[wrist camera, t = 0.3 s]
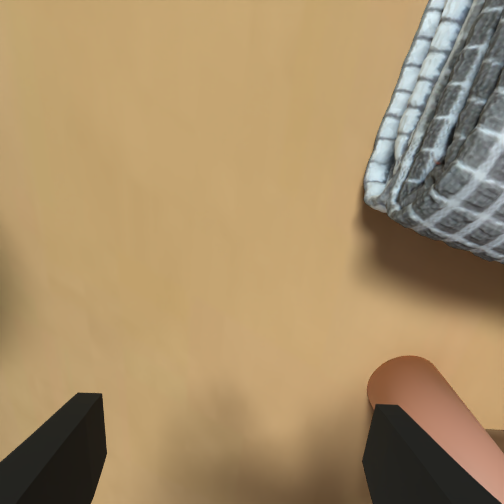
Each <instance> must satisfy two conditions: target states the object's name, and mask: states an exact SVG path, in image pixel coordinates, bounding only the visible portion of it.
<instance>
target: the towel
mask: <svg viewBox="0 0 504 504" xmlns="http://www.w3.org/2000/svg"><path fill="white" fill-rule="evenodd" d="M364 190H365V195H364V202H365V203H366V204H367V205H368V206H370V207H371V208H373V209H375V210H379V211H381V212H383V213H388V216H389V217H390V218H391V219H392V220H394V221H396V222H397V223H399V224H401V225H402V226H404V227H406V228H411V229H413V230H414V231H415V232H417V233H418V234H420V235H422V236H426V237H428V238H430V239H433V240H441V241H443V242H445V243H446V244H447V245H448V246H450V247H453V248H456V249H462V250H466V251H470V252H472V253H473V254H474V255H475V256H478V257H480V258H482V259H484V260H487V261H489V262H491V261H497V262H500V263H502V264H504V0H429V1H428V4H427V6H426V8H425V11H424V13H423V16H422V19H421V22H420V25H419V28H418V30H417V32H416V34H415V36H414V40H413V42H412V45H411V48H410V50H409V52H408V54H407V56H406V58H405V60H404V63H403V66H402V69H401V73H400V76H399V79H398V82H397V84H396V87H395V89H394V92H393V95H392V97H391V100H390V104H389V106H388V108H387V110H386V113H385V115H384V117H383V120H382V122H381V125H380V127H379V130H378V133H377V137H376V140H375V147H374V150H373V153H372V155H371V157H370V159H369V161H368V165H367V169H366V172H365V176H364Z"/></svg>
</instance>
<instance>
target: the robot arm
mask: <svg viewBox="0 0 504 504" xmlns="http://www.w3.org/2000/svg"><path fill="white" fill-rule="evenodd" d="M106 455H107V449H106V436H105V423H104V411H103V398H102V393H77V394H76V395H75V396H73V397H72V398H71V399H70V400H69V401H68V402H67V403H66V404H65V405H63V406H62V407H61V408H60V409H59V410H58V411H57V412H56V413H55V414H54V415H53V416H51V417H50V418H49V419H48V420H47V421H46V422H45V423H44V424H43V425H42V426H41V427H39V428H38V429H37V430H36V431H35V432H34V433H33V434H32V435H31V436H30V437H28V438H27V439H26V440H25V441H24V442H23V443H22V444H20V445H19V446H18V447H17V448H16V449H15V450H14V451H12V452H11V453H10V454H9V455H8V456H7V457H6V458H4V459H3V460H2V461H1V462H0V504H91V502H92V500H93V497H94V494H95V491H96V488H97V485H98V481H99V478H100V475H101V472H102V468H103V465H104V462H105V458H106ZM362 462H363V466H364V471H365V475H366V479H367V483H368V487H369V491H370V495H371V499H372V503H373V504H502V503H501V502H500V501H499V500H497V499H496V498H495V497H494V496H493V495H492V494H491V493H490V492H488V491H487V490H486V489H485V488H484V487H483V486H482V485H481V484H480V483H479V482H477V481H476V480H475V479H474V478H473V477H472V476H471V475H470V474H469V473H468V472H467V471H466V470H465V469H464V468H463V467H461V466H460V465H459V464H458V463H457V462H456V461H455V460H454V459H453V458H452V457H451V456H450V455H449V454H448V453H447V452H446V451H445V450H444V449H443V448H442V447H441V446H440V445H439V444H438V443H437V442H436V441H435V440H434V439H433V438H432V437H431V436H430V435H429V434H428V433H427V432H426V431H425V430H424V429H423V428H421V427H420V426H419V425H418V424H417V423H416V422H415V421H414V420H413V419H412V418H411V417H410V416H409V415H408V414H407V413H406V412H405V411H404V410H403V409H402V408H401V407H400V406H399V405H392V404H376V405H375V409H374V413H373V418H372V422H371V426H370V430H369V435H368V439H367V443H366V447H365V452H364V456H363V460H362Z"/></svg>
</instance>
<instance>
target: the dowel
mask: <svg viewBox="0 0 504 504" xmlns="http://www.w3.org/2000/svg"><path fill="white" fill-rule="evenodd" d="M367 394H368V398H369V401H370V403H371V405H372V407H373V409H375V405H376V404H392V405H399V406H400V407H401V408H402V409H403V410H404V411H405V412H406V413H407V414H408V415H409V416H410V417H411V418H412V419H413V420H414V421H415V422H416V423H417V424H418V425H419V426H420V427H421V428H423V429H424V430H425V431H426V432H427V433H428V434H429V435H430V436H431V437H432V438H433V439H434V440H435V441H436V442H437V443H438V444H439V445H440V446H441V447H442V448H443V449H444V450H445V451H446V452H447V453H448V454H449V455H450V456H451V457H452V458H453V459H454V460H455V461H456V462H457V463H458V464H459V465H460V466H461V467H463V468H464V469H465V470H466V471H467V472H468V473H469V474H470V475H471V476H472V477H473V478H474V479H475V480H476V481H477V482H479V483H480V484H481V485H482V486H483V487H484V488H485V489H486V490H487V491H488V492H490V493H491V494H492V495H493V496H494V497H495V498H496V499H497V500H499V501H500V502H501V503H502V504H504V453H503V452H502V451H501V449H500V448H499V447H498V446H497V444H496V443H495V442H494V441H493V439H492V438H491V437H490V435H489V434H488V433H487V432H486V430H485V429H484V428H483V427H482V425H481V424H480V423H479V422H478V420H477V419H476V418H475V416H474V415H473V414H472V413H471V411H470V410H469V409H468V408H467V406H466V405H465V404H464V403H463V401H462V400H461V399H460V397H459V396H458V395H457V394H456V392H455V391H454V390H453V389H452V387H451V386H450V385H449V384H448V382H447V381H446V380H445V378H444V377H443V376H442V375H441V373H440V372H439V371H438V370H437V368H436V367H435V366H434V365H433V364H432V363H431V362H430V361H428V360H426V359H424V358H421V357H418V356H401V357H397V358H394V359H391V360H389V361H387V362H385V363H384V364H382V365H381V366H380V367H379V368H377V369H376V371H375V372H374V373H373V374H372V376H371V378H370V380H369V382H368V386H367Z"/></svg>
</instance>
